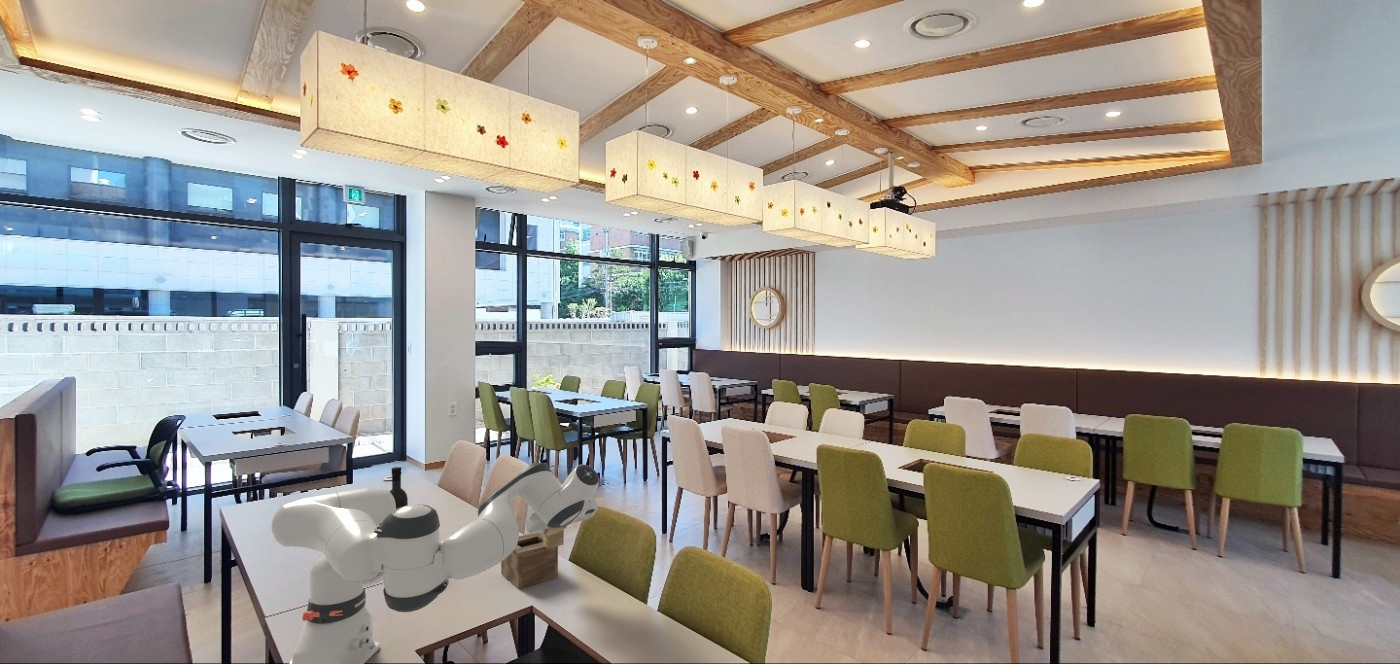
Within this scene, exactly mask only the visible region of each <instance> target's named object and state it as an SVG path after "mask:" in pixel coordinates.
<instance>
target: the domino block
mask: <svg viewBox="0 0 1400 664" xmlns="http://www.w3.org/2000/svg"><path fill="white" fill-rule="evenodd" d="M547 530H548V531H547V532H546V533H544V534H543V546H545V547H546V548H548V549H549V548H553V547H557V546H558V547H560V546H564V544H565V543H564V542H565V541H564V539H565V537H564V535H565V533H564V531H565V529H564V527H560V528H549V529H547Z"/></svg>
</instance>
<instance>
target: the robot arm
mask: <svg viewBox="0 0 1400 664" xmlns="http://www.w3.org/2000/svg"><path fill="white" fill-rule="evenodd" d="M599 483H600V477H599V474H598V472H597V471H596V470H595V469H594V468H593V467H592V466H590V465H587V464H583V463H582V464H579V465H577V466H576V467H575V468H574V469H573V470H572V471H571V472H570V473H569V474H568V475H567V477H566V478H565V480H564V481H563V483H561V482H560V480H559V479H558V478H557V477H556V476H555V474H554V472H553V470H552V469H551V468H550V467H549V466H548V464H547V463H544V462H533V463H531V464H529V465H527V466H526V467H524V468H523V469H522V470H521V471H520V472H519V473H518V474H517V475H516V476H514V477H513V478H512V479H510V480H509V481H508V482H506V483H504V484H503V485H502V486H500V487H499V488H498V489H497V490H495V492H493V493H492V494H491V495H489V496H488V497H487V498H486V499H485V500H484V501H483V502H482V503H481V505H480V506H479V509H478V510H477V517H478V518H477V519H475V520H473V521H471V522H469V523H467V524H466V525H464V526H462V527H460V528H459V529H457V530H456V531H455V532H453V533H452V534H450V536H448V537H447V538H444V539H441V538H440V537H441V535H440V526H441V524H440V518H439V515H438V512H437V509H435V508H433V507H431V506H430V505H427V504H421V503H420V504H419V503H418V504H408V505H407V506H403V507H400V508H398V509H396V503H395V499H394V497H393V496H392V494H391V493H390V492H389V491H390V490H388V489H387V488H385V487H384V488H382V487H362V488H357V489H351V490H344V491H343V490H342V491H339V492H334V493H333V492H331V493H327V494H320V495H314V496H308V497H303V498H300V499H297V500H293V501H291V502H288V503H284V504H282V505H281V506H280V507H279V508H278V510H277V511H276V512H275V513H274V515H273V517H272V519H271V520H272V521H271V533H272V536H273V537H274V539H275V541H276V542H277V543H278V544H279V545H281V546H282V547H287V548H289V547H290V548H291V547H293V548H294V547H295V548H303V549H310V550H312V551H313V550H314V551H317V552H320V553H323V554H322V555H321V556H320V557H319V558H318V559H317V560H315V562H314V563H313V565H312V567H311V569H310V571H309V573H310V574H309V579H310V580H309V583H310V585H309V586H310V588H309V590H310V592H309V593H310V595H309V596H310V597H309V599H308V604H307V606H306V610H305V611H303V613H302V617H301V619H302V621H303V622H304V624H303V627H302V629H301V632H300V635H299V636H298V639H297V641H296V642H297V643H296V644H295V647H294V650H293V653H292V656H291V659H290V661H289V663H288V664H365V663H367V662H368V660H369V659H371V658H372V656H374V654H375V653H376V652H378V651H379V650H380V649H381V645H380V642H379V641H376V640H374V628H373V627H374V626H373V616H372V613H370V612H369V611H368V610H367V608H366V606H365V605H366V603H367V602H366V599H367V593H366V588H365V586H364V583H365V582H368V581H370V580H371V579H374V578H376V576H378V575H379V574H380V573H382V576H383V577H382V578H383V585H384V587H383V591H382V592H383V597H384V600H385V603H386V606H387V607H388V609H390V610H393V611H396V612H399V613H411V612H415V611H419V610H421V609H423V608H425V607H426V606H428V605H430V604H431V603H432V602H433V601H434V600H436V598H438V596H439V595H440V594H442V593H443V592H445V591H446V589H447V588H448V586H449V583H450V582H449V580H450V579H452V580H456V581H457V580H463V579H467V578H470V577H474V576H476V575H479V574H481V573H483V572H486V571H487V570H489V569H491V568H493V567H494V566H495V567H496V566H497V565H499V564H500V563H501V561H503V560H504V559H506V558H507V557H508V556H509V555H510V554H511V553H512V552H513V551H514V550H515V548H516V546H517V543H518V539H519V536H520V528H519V522H518V520H517V518H516V516H515V514H514V512H513V508H512V506H511V502H512V501H513V500H515V499H516V498H517V497H521V499H523V500H525V502H526V503H527V504H528V505H529V507H530V508H531V509H532V510H533V511H532V512H531V513H530V514H529V515H528V517H526V519H525V521H524V525H525V529H526V531H527V532H528V534H531V533H536V532H540V533H541V534H544V533H546V532H547V531H548V530H547V529H549V528H560V527H564V530H565V529H567V528H568V526H570V525H572V524H574V523H578V522H583V521H586V520H589V519H591V518H593V516H594V515H595V514H596V512H597V511H598V510H599V507H598V506H599V505H598V504H597V500H596V498H595V493H596V491H597V489H598V487H599Z"/></svg>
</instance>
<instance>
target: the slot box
mask: <svg viewBox="0 0 1400 664" xmlns="http://www.w3.org/2000/svg"><path fill="white" fill-rule="evenodd" d="M500 563H501V565H500V567H501V569H500V570H501V574H502V575H503V576H504V577H505V578H506V579H505V578H504V577H503V576H502V575H501V574H500V575H501V576H502V577H503V578H504V579H505V580H506V581H508V582H509V581H510V582H511V583H512V584H511V583H510V582H509V583H510V584H511V585H513V586H514V587H515V588H516V589H517V590H521V589H524V588H528V587H531V586H534V585H537V584H540V583H543V582H544V581H545V582H547V580H548V581H550V580H554V578H555V579H558V578H559V576H558V575H559V546H557V547H553V548H549V549H548V548H546V547H545V546H543V534H541V533H540V531H536V532H532V533H528V534H527V533H526V534H523V535H519V539H518V543H517V546H516V548H515V550H514V551H513V552H512V553H511V554H510V555H509V556H508V557H507V558H506V559H504V560H503V561H501V562H500Z"/></svg>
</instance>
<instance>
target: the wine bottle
mask: <svg viewBox="0 0 1400 664" xmlns="http://www.w3.org/2000/svg"><path fill="white" fill-rule="evenodd" d="M388 491H389V492H390V493H391V494H392V496H393V497H394V499H395V503H396V509H398V508H400V507H403V506H407V505H409V503H408V502H409V499H408V498H409V497H408V494H407V493H406V491H405V489H403V488H402V466H401V467H400V466H394V467H392V468H391V489H390V490H388Z"/></svg>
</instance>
